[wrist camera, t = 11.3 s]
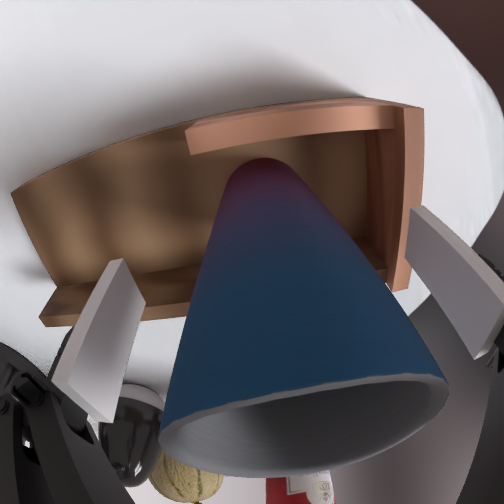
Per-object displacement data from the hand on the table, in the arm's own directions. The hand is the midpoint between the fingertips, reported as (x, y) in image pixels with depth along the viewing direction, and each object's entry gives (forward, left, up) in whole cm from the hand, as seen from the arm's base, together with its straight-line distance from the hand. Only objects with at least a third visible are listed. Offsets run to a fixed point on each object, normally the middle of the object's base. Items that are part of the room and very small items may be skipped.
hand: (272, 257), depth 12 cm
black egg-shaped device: (-22, -26, -9) cm, 35 cm away
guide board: (-6, 0, -9) cm, 10 cm away
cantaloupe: (-22, -46, -9) cm, 52 cm away
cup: (0, 0, -7) cm, 7 cm away
